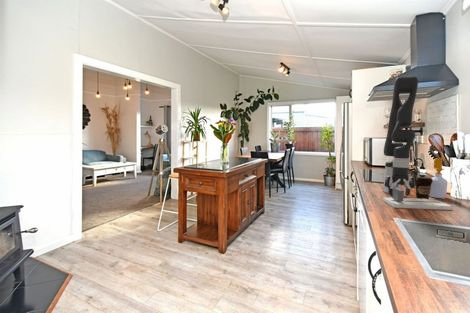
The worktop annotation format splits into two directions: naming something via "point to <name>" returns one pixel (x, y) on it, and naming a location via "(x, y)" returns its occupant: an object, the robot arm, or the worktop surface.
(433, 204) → the console board
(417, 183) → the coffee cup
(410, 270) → the worktop surface
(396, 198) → the fader cap
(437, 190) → the soap bottle
